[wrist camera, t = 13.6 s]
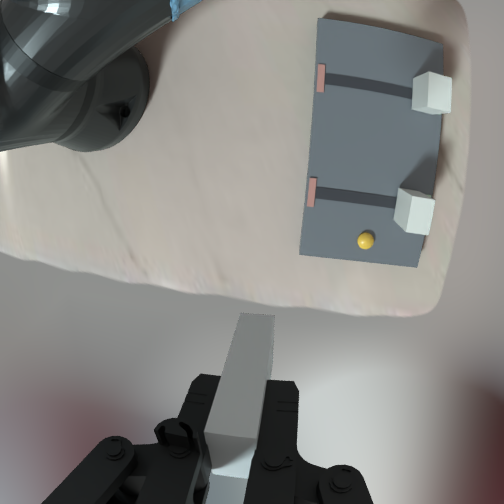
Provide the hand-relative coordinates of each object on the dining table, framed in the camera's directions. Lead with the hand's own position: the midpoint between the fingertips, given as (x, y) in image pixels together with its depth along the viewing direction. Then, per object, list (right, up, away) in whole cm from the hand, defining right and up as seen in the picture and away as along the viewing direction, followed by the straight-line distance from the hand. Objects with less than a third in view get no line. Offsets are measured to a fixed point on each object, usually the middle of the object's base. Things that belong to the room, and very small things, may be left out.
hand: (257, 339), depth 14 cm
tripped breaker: (+16, +9, +17) cm, 25 cm away
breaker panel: (+13, +16, +17) cm, 27 cm away
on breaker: (+17, +20, +12) cm, 29 cm away
